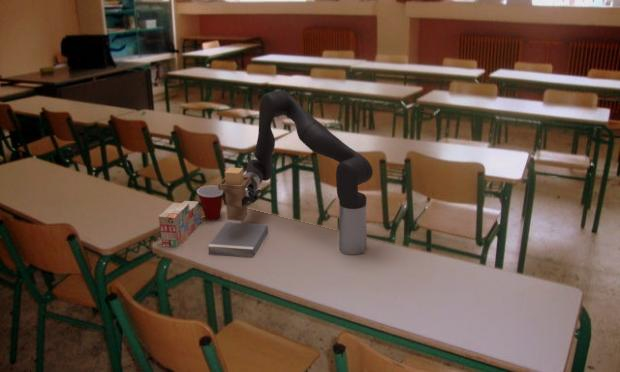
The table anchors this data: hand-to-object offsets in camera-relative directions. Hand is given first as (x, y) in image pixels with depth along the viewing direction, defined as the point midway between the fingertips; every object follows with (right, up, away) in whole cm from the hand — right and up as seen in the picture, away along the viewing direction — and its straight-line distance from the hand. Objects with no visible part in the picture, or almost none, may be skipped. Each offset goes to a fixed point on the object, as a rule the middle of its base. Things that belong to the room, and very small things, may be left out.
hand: (234, 203), depth 193 cm
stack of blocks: (-21, -12, +16) cm, 29 cm away
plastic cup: (-12, -7, +29) cm, 32 cm away
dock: (+1, -15, +8) cm, 17 cm away
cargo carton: (0, +7, 0) cm, 7 cm away
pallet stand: (+1, -5, +5) cm, 7 cm away
